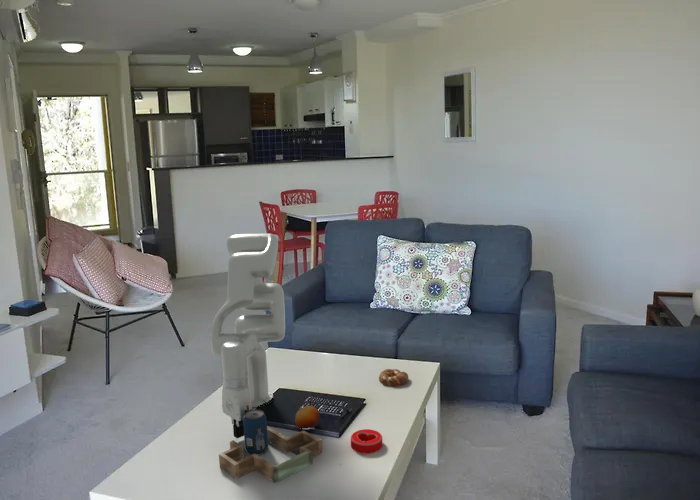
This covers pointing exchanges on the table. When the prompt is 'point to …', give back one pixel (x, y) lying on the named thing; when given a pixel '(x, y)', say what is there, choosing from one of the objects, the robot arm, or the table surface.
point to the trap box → (298, 444)
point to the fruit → (307, 417)
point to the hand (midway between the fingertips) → (239, 435)
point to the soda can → (255, 432)
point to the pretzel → (393, 377)
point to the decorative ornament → (366, 441)
